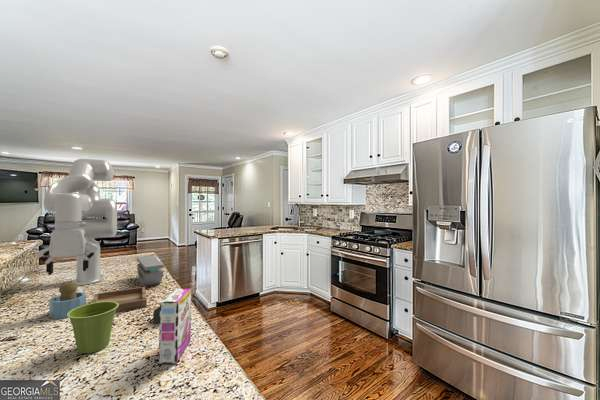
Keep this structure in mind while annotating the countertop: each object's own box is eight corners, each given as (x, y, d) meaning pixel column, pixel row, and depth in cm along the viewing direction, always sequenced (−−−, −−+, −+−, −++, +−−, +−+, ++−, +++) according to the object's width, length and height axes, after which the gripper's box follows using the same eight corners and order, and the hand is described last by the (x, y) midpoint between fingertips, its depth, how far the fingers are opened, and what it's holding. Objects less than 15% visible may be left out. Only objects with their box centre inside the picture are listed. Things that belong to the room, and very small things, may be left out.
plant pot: (128, 340, 80) (128, 303, 80) (85, 363, 69) (85, 320, 69) (101, 333, 84) (101, 298, 84) (56, 354, 73) (56, 313, 73)
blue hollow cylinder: (53, 310, 100) (54, 295, 100) (87, 305, 105) (87, 290, 105) (46, 321, 92) (46, 304, 92) (83, 314, 97) (83, 298, 97)
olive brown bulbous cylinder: (66, 317, 95) (66, 286, 95) (53, 315, 96) (53, 285, 96) (83, 310, 101) (83, 281, 101) (70, 308, 102) (70, 280, 102)
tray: (95, 300, 110) (95, 293, 110) (145, 293, 119) (145, 286, 119) (88, 317, 95) (88, 309, 95) (146, 307, 104) (146, 299, 104)
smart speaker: (154, 316, 97) (154, 305, 97) (181, 312, 101) (181, 301, 101) (151, 327, 89) (151, 315, 89) (180, 322, 92) (180, 311, 92)
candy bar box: (177, 364, 69) (178, 302, 69) (158, 365, 69) (158, 302, 68) (191, 341, 80) (192, 287, 80) (174, 341, 80) (175, 287, 80)
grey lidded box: (163, 287, 128) (163, 264, 128) (145, 290, 123) (145, 267, 123) (153, 275, 147) (153, 255, 147) (136, 277, 142) (136, 257, 142)
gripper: (98, 224, 106) (98, 267, 106) (39, 226, 97) (39, 273, 97) (96, 225, 100) (96, 271, 99) (33, 228, 90) (32, 278, 90)
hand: (68, 272), depth 98 cm, fingers open, 9 cm apart
